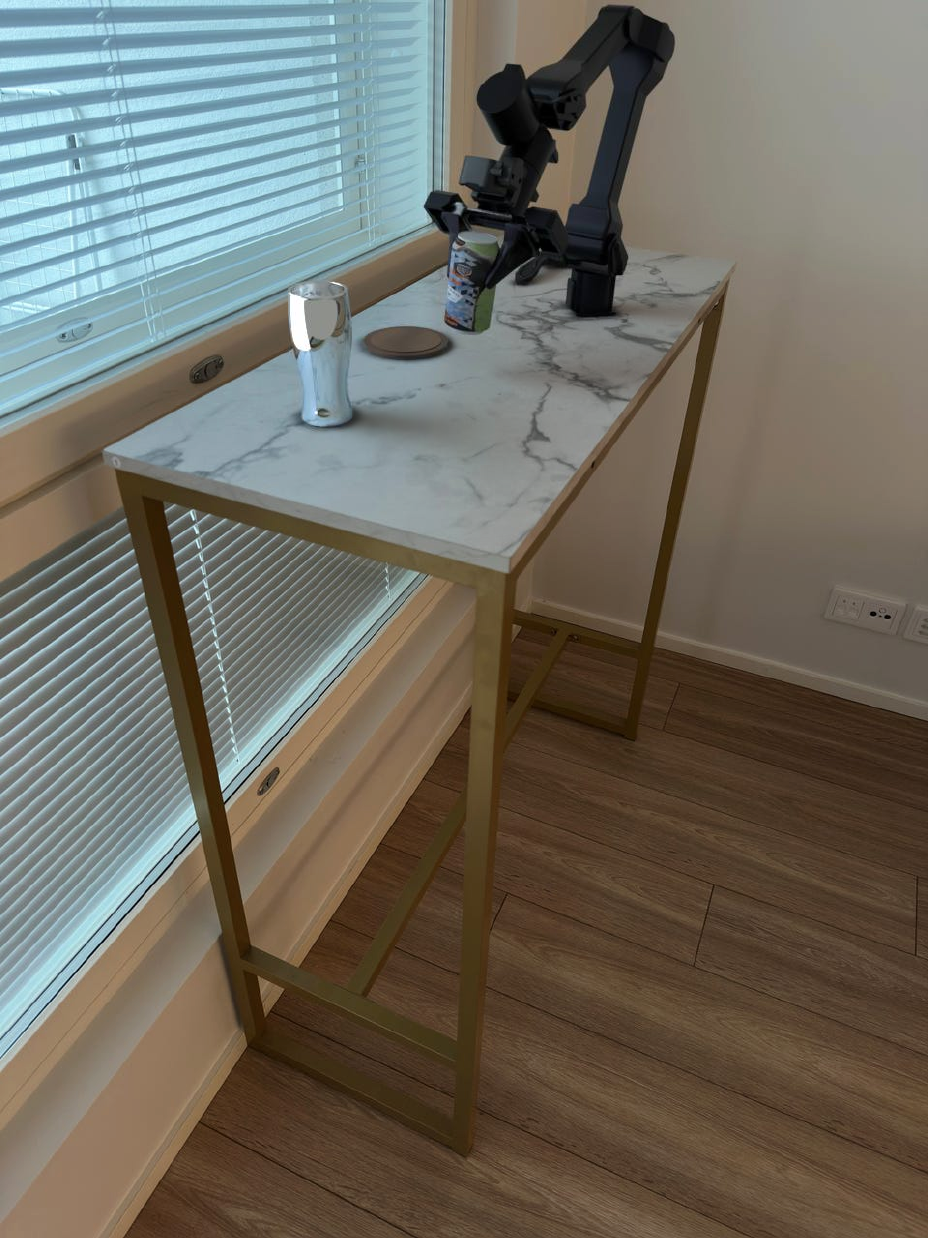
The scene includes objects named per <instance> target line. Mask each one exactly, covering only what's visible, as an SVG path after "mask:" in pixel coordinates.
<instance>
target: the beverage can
mask: <svg viewBox="0 0 928 1238" xmlns="http://www.w3.org/2000/svg"><path fill="white" fill-rule="evenodd" d="M500 248H501V246H500V245H499V239H498V237H496V236H495V235H492V234H489V233H486V232H483V231H482V232H481V231H473V230H472V231H465V232H460V233H459V234H458V238H457V239H456V240H455V242H454V243H453V246H452V254H451V263H450V272H449V279H448V283H447V290H446V291H447V292H446V299H445V309H444V316H443V318H444V319H443V321H444V324H445V325H447V326H448V327H449V329H450V330H451V331H453V332H455V333H457V334H460V335H465V336H466V335H467V336H477V335H481V334H483V333H484V332H486V331H487V330H489V329H490V328H491V325H492V324H491V323H492V316H493V310H494V302H495V296H496V288H497V284H496V285H495V286H494V287H493V288H492V289H488V288H487V287H486V286H485V283H486V280H487V277H488V274H489V271H490V269H491V267H492V265H493V263H494V261H495V258H496V256H497V254H498V252H499V250H500Z"/></svg>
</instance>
